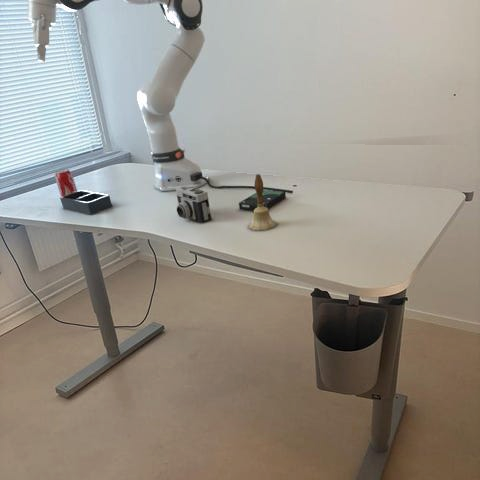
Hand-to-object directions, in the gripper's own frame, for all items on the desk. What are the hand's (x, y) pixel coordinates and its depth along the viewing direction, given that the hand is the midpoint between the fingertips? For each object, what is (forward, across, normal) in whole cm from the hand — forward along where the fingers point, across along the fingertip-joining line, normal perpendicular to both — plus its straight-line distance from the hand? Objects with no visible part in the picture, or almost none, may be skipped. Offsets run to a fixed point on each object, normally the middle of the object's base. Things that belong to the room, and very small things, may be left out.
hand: (41, 61), depth 171 cm
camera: (+40, -47, -46) cm, 77 cm away
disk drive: (+32, -52, -69) cm, 92 cm away
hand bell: (+34, -70, -61) cm, 99 cm away
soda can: (+50, +15, -13) cm, 54 cm away
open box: (+49, -4, -18) cm, 52 cm away
